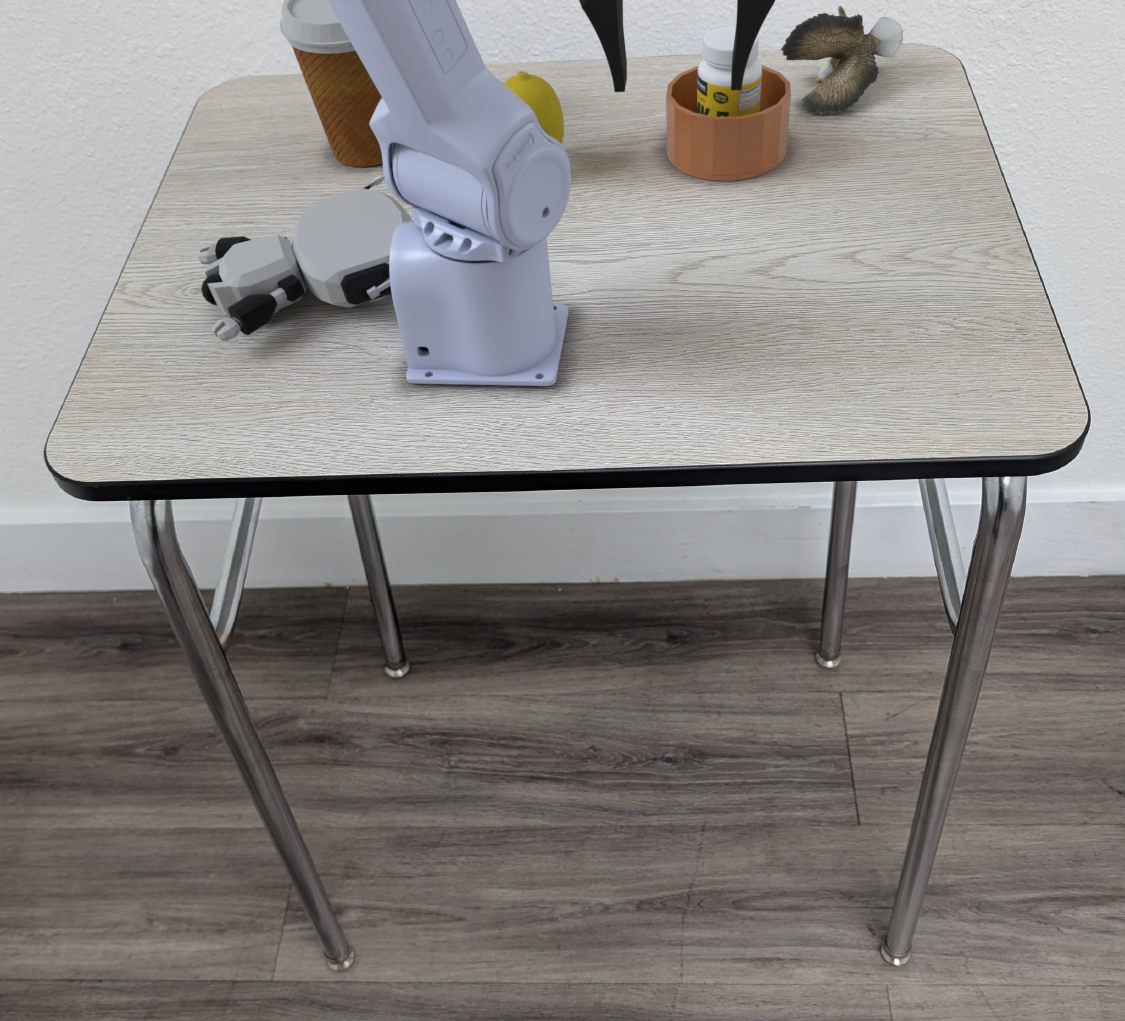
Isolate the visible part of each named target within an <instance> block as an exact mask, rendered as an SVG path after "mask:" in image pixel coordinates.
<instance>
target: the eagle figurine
mask: <svg viewBox="0 0 1125 1021" xmlns="http://www.w3.org/2000/svg"><path fill="white" fill-rule="evenodd" d="M837 12H838V15H834V14H829V13H827V12H823V13H817V15H813V16H812V17H809V18H807V20H804V21H802V22H801V23H799V24H797V25H796V26H795V28H794V29H793V30H791V31H790V33H789V35H788V36H787V37H786V38H785V40H784V41H785V42H784V44H783V45H782V47H781V49H780V50H781V51H782V55H783V56H785V60H786V61H820V60H823V59H827V58H829V60H827V62H826V63H825V64H824V65H823V66H822V67H821V69H819V70H818V73H817V77H816V79H815V82H816V83H819V82H820V81H821V80H822V81H821V83H820V84H818V85H817V87H815V88H814V89H812V90H811V91H810V92H809V93H807V94H806V95H805V96H803V97H802V98H801V100H800V102H801V103H802V108H805V112H806V113H810V114H811V115H818V114H820V115H826V114H828V113H831V114H832V115H834V114H836V113H837V112H839V113H842V112H845V111H846V110H848V109H849V108H851V107H853V106H854V105H855V104H856V103H858V102H859V101H860V97H862V96H863V95H864V94H865V91H866V90H867V89H868V88H870V86H871V84H874V83H876V82H877V79H878V75H879V74H880V72H879V67H878V66H877V62H876V61H875V60H876V56H878V57H883V58H894V57H895V56H896V55H897V53H898V51H899V49H900V47H901V44H902V43H903V41H904V36H903V35H904V29H903V27H902V25H901V24H900V23H899V22H898V21H897V20H895V19H893V18H892V17H888V16H882V17H880V18H878V20H877V21H876V23H875V24H874V25H873V26H872V28H871V29H870V31H869V32H868V33H865V30H864V29H865V26H864V25H863V18H864V17H863V16H862V15H861V14H859V13H857V14H854V15H853V16H847V14H846V11H845V9H844V8H843V6H841V5H839V6H838V7H837Z"/></svg>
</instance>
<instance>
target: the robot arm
mask: <svg viewBox="0 0 1125 1021" xmlns="http://www.w3.org/2000/svg"><path fill="white" fill-rule="evenodd" d="M327 1H328V2H329V4H330V6H331V8H332V9H333V11H334V13H335V15H336V17H337V18H338V20H339V22H340V24H341V25H342V27H343V29H344V31H345V33H346V34H347V36H348V38H349V40H350V41H351V43H352V45H353V47H354V48H355V50H356V52H357V54H358V56H359V57H360V59H361V61H362V63H363V64H364V66H365V68H366V70H367V72H368V73H369V75H370V77H371V79H372V80H373V82H374V84H375V86H376V88H377V89H378V91H379V93H380V95H381V96H382V98H381V100H380V101H379V103H378V105H377V107H376V109H375V111H374V114H373V116H372V118H371V120H370V123H369V125H370V127H371V129H372V131H373V132H374V134H375V136H376V138H377V140H378V142H379V145H380V148H381V152H382V161H383V164H382V170H383V176H385V178H384V180H385V182H386V185H387V187H388V189H389V190H390V192H391V194H392V195H393V196H395V198H396V199H397V200H398V201H401V203H403V204H406V205H409V206H410V207H411V211H412V212H411V213H412V217H413V220H411V221H408V222H403V223H400V224H399V225H398V226H397V227H396V229H395V231H394V234H393V238H392V242H391V248H390V259H389V271H390V286H391V293H392V294H391V298H392V303H393V308H394V311H395V316H396V320H397V324H398V329H399V334H400V338H401V343H402V347H403V351H404V356H405V361H406V364H407V371H406V373H405V379H406V381H407V382H408V383H409V384H414V385H415V384H417V385H418V384H419V385H420V384H421V385H471V386H472V385H473V386H526V387H527V386H528V387H551V386H553V385H554V384H555V383H556V382H557V377H558V371H559V367H560V362H561V361H560V360H561V355H562V350H563V344H564V340H565V334H566V328H567V323H568V318H569V313H570V312H569V306H568V305H566V304H565V303H554V299H553V288H552V287H553V286H552V278H551V268H550V257H549V256H550V255H549V248H548V246H549V245H548V237H549V236H550V234H551V233H552V232H553V231H554V230H555V229H556V227H557V226H558V224H559V223H560V221H561V219H562V217H563V216H564V214H565V211H566V209H567V206H568V202H569V199H570V194H571V188H572V170H571V164H570V163H571V162H570V159H569V155H568V152H567V150H566V149H565V147H564V146H563V144H562V143H560V142H559V141H557V140H556V139H554V138H553V137H551V136H549V135H547V134H546V133H545V132H544V131H543V129H542V128H541V126H540V124H539V122H538V120H537V118H536V115H535V113H534V111H533V110H532V109H531V108H530V107H529V106H528V105H527V104H526V103H525V102H524V101H523V100H522V99H520V98H519V97H518V96H517V95H516V94H515V93H514V92H512V91H511V90H510V89H509V88H508V87H507V86H505V85H504V84H503V83H504V82H502V81H501V80H499V78H497V77H496V76H495V75H494V74H492V72H491V71H489V69H488V68H487V67H486V65H485V63H484V60H483V58H482V56H481V54H480V52H479V49H478V47H477V45H476V43H475V40H474V38H473V36H472V33H471V32H470V29H469V27H468V25H467V22H466V20H465V18H464V15H463V13H462V11H461V8H460V6H459V4H458V2H457V0H327ZM578 2H579V5H580V7H581V9H582V11H583V12H584V13H585V16H586V17H587V19H588V20H589V22H590V24H591V26H592V28H593V29H594V32H595V33H596V36H597V38H598V40H599V43H600V44H601V47H602V50H603V53H604V55H605V58H606V61H607V64H608V67H609V71H610V74H611V79H612V84H613V91H614V93H625V92H626V86H627V80H628V58H627V51H626V49H627V48H626V39H625V30H624V0H578ZM775 2H776V0H737V2H736V22H735V27H736V31H735V39H734V47H733V55H732V71H731V90H742V83H743V77H744V73H745V69H746V65H747V62H748V58H749V55H750V53H751V50H752V47H753V44H754V42H755V39H756V37H757V35H758V34H759V32H760V30H761V28H762V26H763V25H764V22H765V20H766V19H767V17H768V15H769V13H770V11H771V9H772V8H773V6H774V4H775ZM758 36H759V35H758Z"/></svg>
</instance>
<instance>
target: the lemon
mask: <svg viewBox="0 0 1125 1021" xmlns="http://www.w3.org/2000/svg"><path fill="white" fill-rule="evenodd" d="M502 83H503V84H504V85H505V86H507V87H508V88H509V89H510V90H511V91H512V92H514V93H515V94H516V95H517V96H518V97H519V98H520V99H522V100H523V101H524V102H525V103H526V104H527V105H528V106H529V107H530V108H531V109H532V110H533V111H534V113H535V115H536V118H537V120H538V122H539V124H540V126H541V128H542V129H543V131H544V132H545V133H546V134H547V135H549V136H551V137H553V138H554V139H556V140H557V141H559V142H560V143H561V144H562V143H563V140H564V134H565V124H564V113H563V108H562V105H561V102H560V99H559V97H558V95H557V93H556V91H555V90H554V88H553V86H552V85H551V84H550V83H549V82H547V81H546V80H544V78H542V77H541V76H538V75H536V74H531V73H528V72H527V71H524V70H521V71H518V72H517V73H516V74H515V75H512V76H511V77H509V78H507V79H506V80H505V81H503V82H502Z"/></svg>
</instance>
